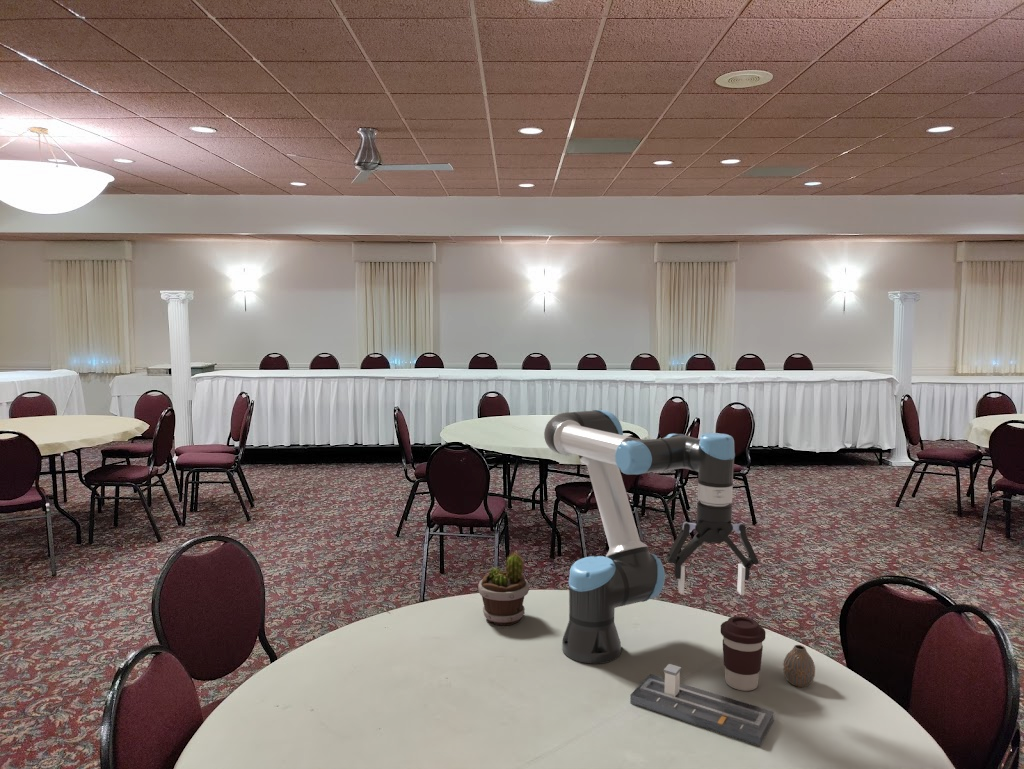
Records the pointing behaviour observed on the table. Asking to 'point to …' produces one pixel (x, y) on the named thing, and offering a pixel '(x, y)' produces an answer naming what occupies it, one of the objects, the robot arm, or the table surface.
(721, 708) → the console
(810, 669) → the vase
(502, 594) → the flowerpot
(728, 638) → the coffee cup
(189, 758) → the table surface
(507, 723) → the table surface
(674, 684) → the fader knob
